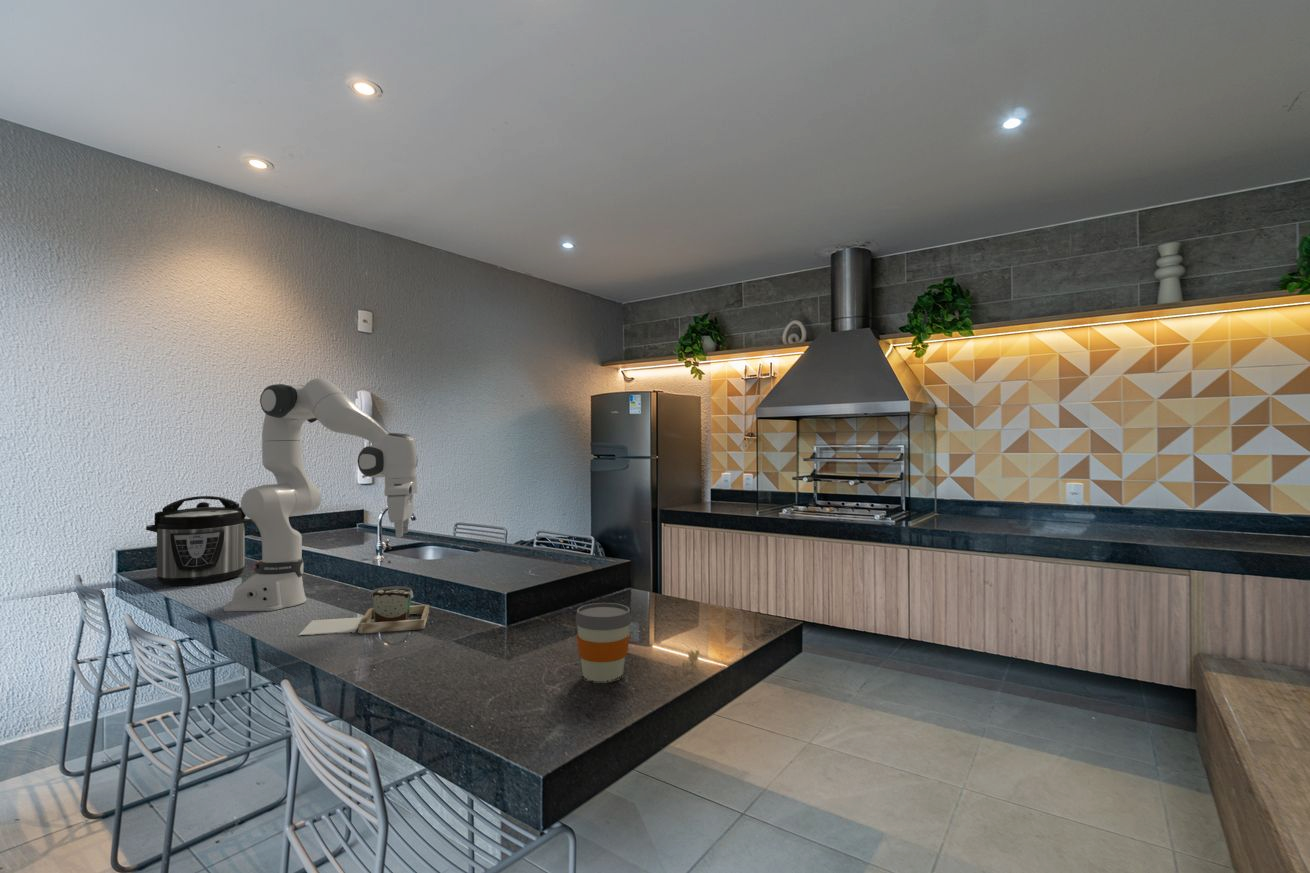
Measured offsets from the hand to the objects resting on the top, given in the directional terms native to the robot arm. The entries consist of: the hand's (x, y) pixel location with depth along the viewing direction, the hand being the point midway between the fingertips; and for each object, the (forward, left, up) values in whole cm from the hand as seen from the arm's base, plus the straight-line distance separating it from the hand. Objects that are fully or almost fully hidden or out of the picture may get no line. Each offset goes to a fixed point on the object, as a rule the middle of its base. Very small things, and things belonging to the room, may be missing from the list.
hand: (402, 535), depth 178 cm
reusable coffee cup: (+49, -56, -26) cm, 79 cm away
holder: (-1, 0, -26) cm, 26 cm away
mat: (-18, 0, -26) cm, 31 cm away
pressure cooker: (-80, +79, -26) cm, 115 cm away
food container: (-1, 0, -26) cm, 26 cm away
